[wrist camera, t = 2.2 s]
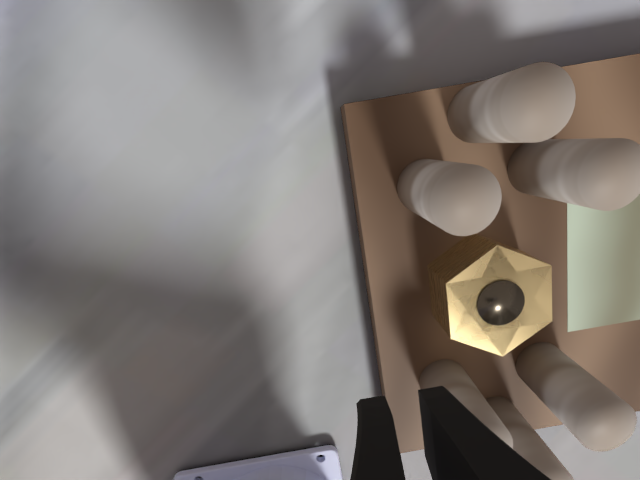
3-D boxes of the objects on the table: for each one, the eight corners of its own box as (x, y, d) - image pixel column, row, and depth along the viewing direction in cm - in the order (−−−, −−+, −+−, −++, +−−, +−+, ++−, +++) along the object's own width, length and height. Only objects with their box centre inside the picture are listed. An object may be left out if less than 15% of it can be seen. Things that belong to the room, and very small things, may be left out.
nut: (434, 337, 19) (453, 365, 17) (424, 239, 18) (444, 254, 15) (521, 322, 19) (553, 348, 17) (518, 223, 18) (552, 235, 15)
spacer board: (387, 433, 22) (419, 538, 16) (340, 107, 17) (360, 89, 12) (643, 388, 22) (766, 476, 16) (661, 52, 18) (840, 6, 12)
